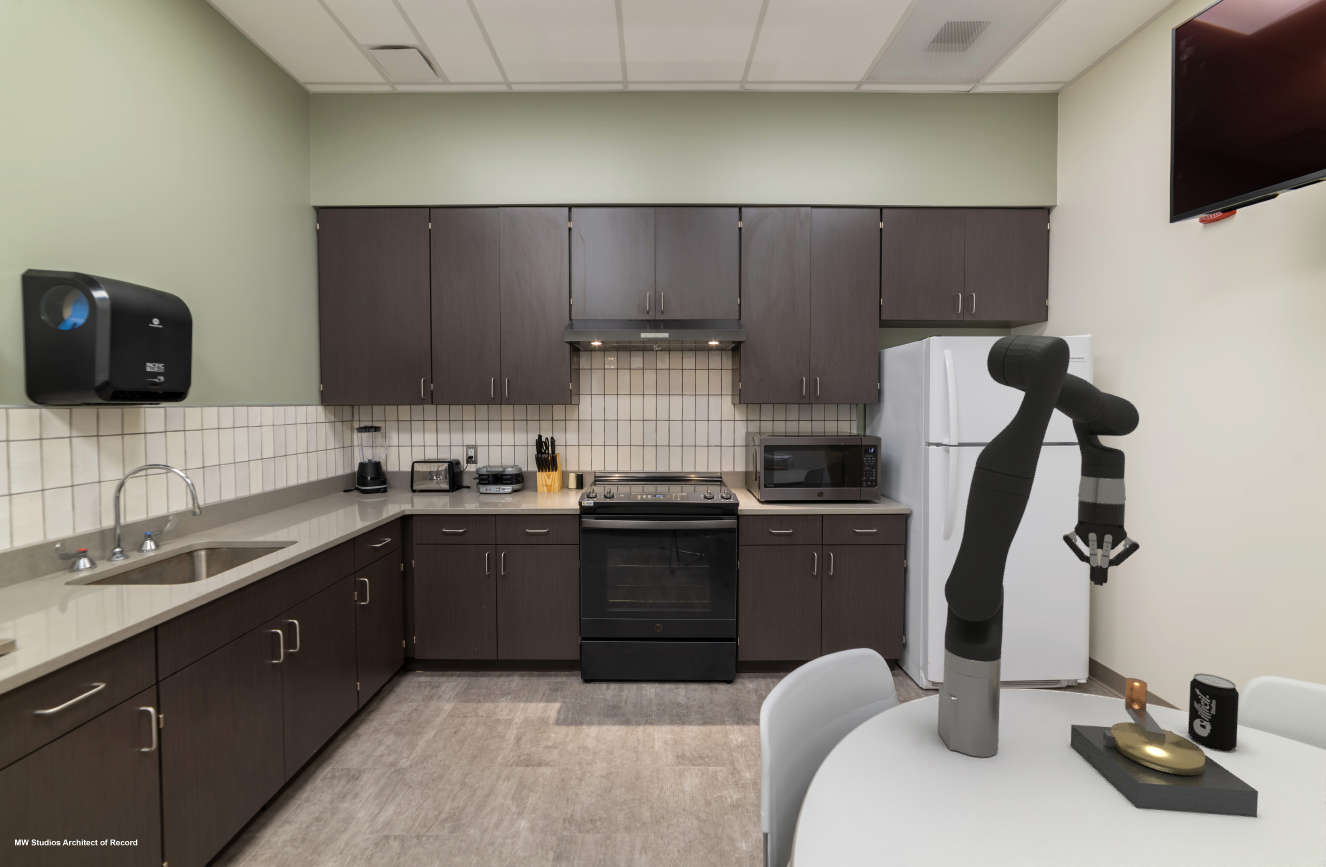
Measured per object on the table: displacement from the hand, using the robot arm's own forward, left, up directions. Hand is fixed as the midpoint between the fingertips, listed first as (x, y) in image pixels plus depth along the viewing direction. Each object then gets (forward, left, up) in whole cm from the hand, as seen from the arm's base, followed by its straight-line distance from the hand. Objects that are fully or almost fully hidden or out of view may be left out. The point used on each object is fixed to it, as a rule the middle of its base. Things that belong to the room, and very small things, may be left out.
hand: (1098, 584), depth 117 cm
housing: (-3, -21, -27) cm, 34 cm away
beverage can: (+16, -8, -27) cm, 33 cm away
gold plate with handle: (-3, -18, -23) cm, 29 cm away
